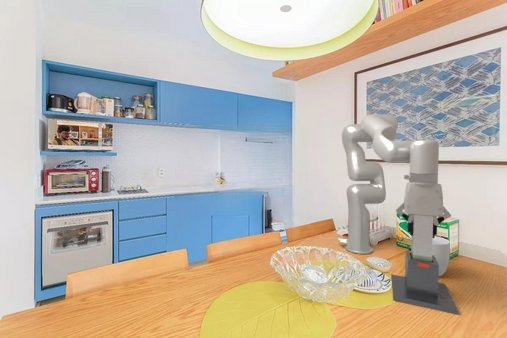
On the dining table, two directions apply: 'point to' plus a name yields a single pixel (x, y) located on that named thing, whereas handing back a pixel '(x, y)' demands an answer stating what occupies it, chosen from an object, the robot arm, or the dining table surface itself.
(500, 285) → the dining table surface
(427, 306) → the stand
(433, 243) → the mug
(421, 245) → the post
